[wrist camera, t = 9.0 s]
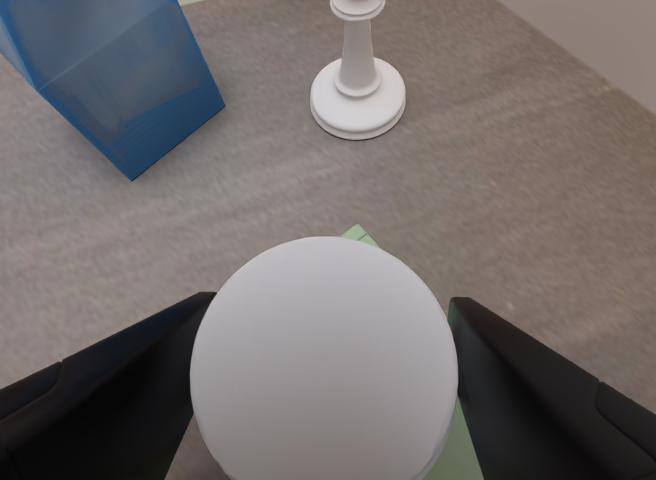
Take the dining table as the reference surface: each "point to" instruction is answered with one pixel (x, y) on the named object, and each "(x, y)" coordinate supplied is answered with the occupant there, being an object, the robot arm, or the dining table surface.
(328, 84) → the chess piece
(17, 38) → the perfume bottle
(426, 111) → the dining table surface
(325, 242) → the pill bottle
